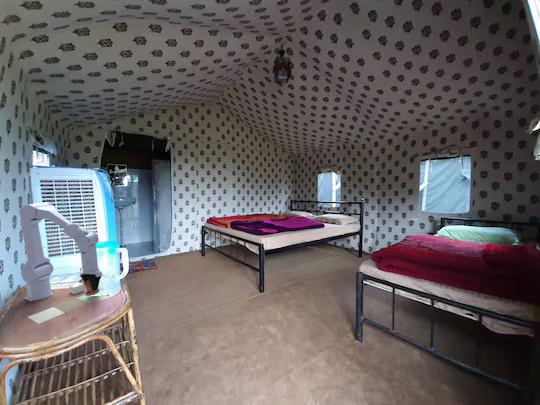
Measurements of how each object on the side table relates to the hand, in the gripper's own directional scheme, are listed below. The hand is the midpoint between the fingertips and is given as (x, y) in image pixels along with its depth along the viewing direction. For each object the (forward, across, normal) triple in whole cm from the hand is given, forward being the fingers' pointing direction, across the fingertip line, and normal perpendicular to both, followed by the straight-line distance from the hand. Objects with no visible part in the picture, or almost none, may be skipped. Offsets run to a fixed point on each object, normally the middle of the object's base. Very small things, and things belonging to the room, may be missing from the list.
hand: (92, 288), depth 113 cm
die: (+4, -12, -1) cm, 13 cm away
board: (+4, 0, -8) cm, 9 cm away
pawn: (+2, 0, 0) cm, 2 cm away
